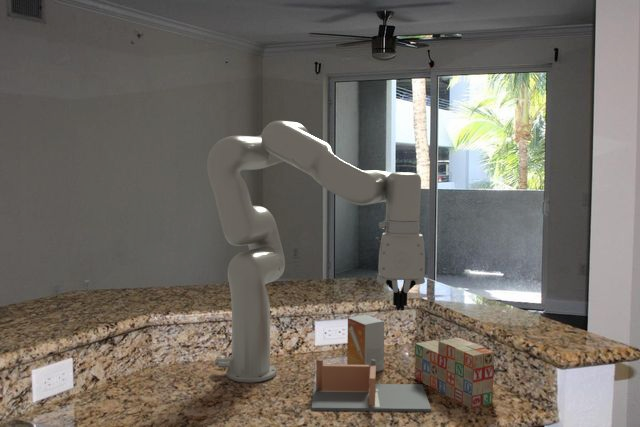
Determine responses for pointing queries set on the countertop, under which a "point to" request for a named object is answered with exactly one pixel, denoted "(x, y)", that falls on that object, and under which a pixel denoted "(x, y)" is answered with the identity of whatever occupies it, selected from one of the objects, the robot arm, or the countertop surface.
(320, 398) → the board
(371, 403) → the hinged fence panel
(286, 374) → the countertop surface
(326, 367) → the fixed fence panel
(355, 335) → the small box
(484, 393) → the stack of blocks
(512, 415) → the countertop surface
